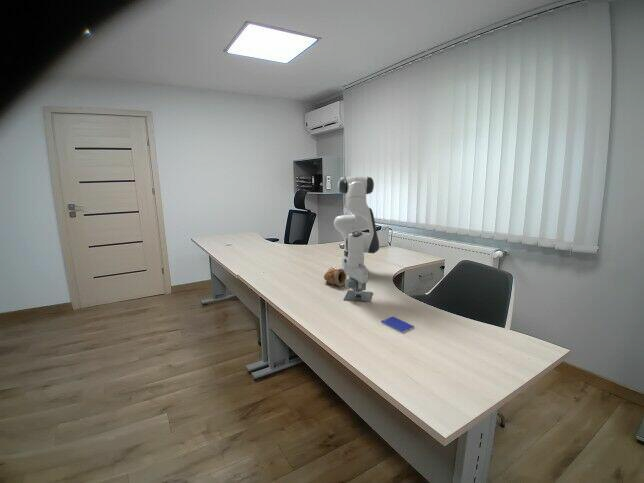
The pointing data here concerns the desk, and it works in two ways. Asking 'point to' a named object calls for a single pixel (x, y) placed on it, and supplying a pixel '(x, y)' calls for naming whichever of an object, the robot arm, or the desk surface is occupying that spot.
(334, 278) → the clay pipe
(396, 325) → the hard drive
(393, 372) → the desk surface
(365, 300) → the duct plate
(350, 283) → the stepped gray block
